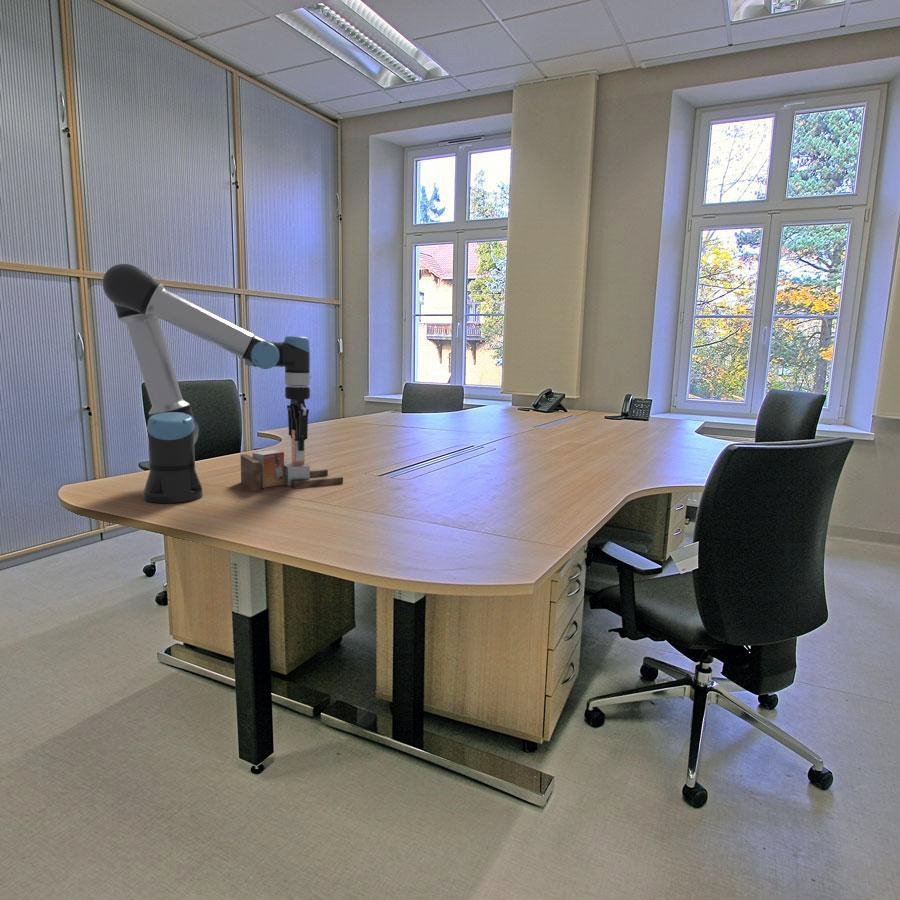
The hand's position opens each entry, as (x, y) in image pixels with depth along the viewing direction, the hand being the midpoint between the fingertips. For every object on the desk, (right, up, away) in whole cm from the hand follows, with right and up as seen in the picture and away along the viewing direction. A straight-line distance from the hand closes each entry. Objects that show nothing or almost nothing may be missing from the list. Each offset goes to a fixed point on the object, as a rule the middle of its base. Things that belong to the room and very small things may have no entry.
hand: (298, 459), depth 193 cm
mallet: (-2, -8, 0) cm, 8 cm away
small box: (-8, -8, -4) cm, 12 cm away
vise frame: (-2, -8, 0) cm, 8 cm away
